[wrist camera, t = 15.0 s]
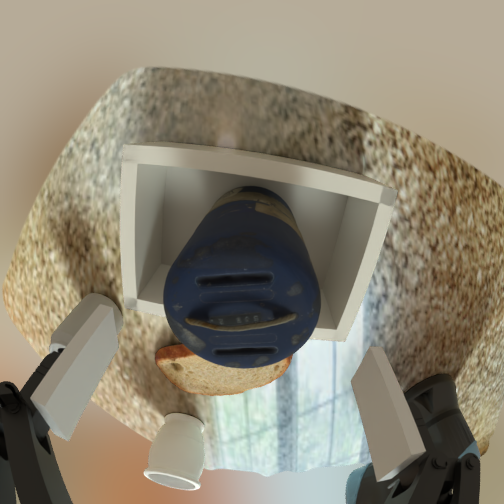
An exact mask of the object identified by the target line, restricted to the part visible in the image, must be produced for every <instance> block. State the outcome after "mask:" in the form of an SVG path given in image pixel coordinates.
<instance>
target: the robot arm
mask: <svg viewBox="0 0 504 504" xmlns="http://www.w3.org/2000/svg"><path fill="white" fill-rule="evenodd" d="M118 348H119V344H118V339H117V333H116V326H115V320H114V313H113V307H109V306H105V305H102V304H100V305H99V306H98V307H97V309H96V310H95V311H94V312H93V313H92V315H91V316H90V317H89V318H88V320H87V321H86V322H85V323H84V325H83V326H82V327H81V328H80V330H79V331H78V332H77V333H76V335H75V336H74V337H73V339H72V340H71V341H70V342H69V344H68V345H67V346H66V348H65V349H64V350H63V352H62V353H61V354H60V353H58V352H56V351H53V352H52V353H50V354H49V355H47V356H46V357H45V358H44V359H43V361H42V362H41V363H40V366H38V367H37V369H36V371H35V372H34V373H33V374H32V375H31V377H30V378H29V380H28V381H27V382H26V384H25V385H24V387H23V388H22V390H21V391H20V392H19V390H18V388H17V387H16V386H15V385H14V384H13V383H11V382H8V381H4V382H1V383H0V504H16V494H15V487H16V491H17V494H18V497H19V500H20V503H21V504H73V503H72V501H71V498H70V496H69V494H68V491H67V489H66V486H65V484H64V481H63V478H62V476H61V473H60V471H59V467H58V464H57V461H56V458H55V455H54V451H53V448H52V445H51V441H50V437H49V435H48V431H49V429H51V430H52V431H53V433H54V434H55V435H57V436H59V437H61V438H63V439H65V440H67V441H69V440H70V438H71V435H72V433H73V431H74V429H75V427H76V425H77V423H78V421H79V419H80V417H81V415H82V413H83V411H84V410H85V408H86V406H87V404H88V402H89V400H90V398H91V396H92V394H93V393H94V391H95V389H96V387H97V385H98V383H99V382H100V380H101V378H102V376H103V374H104V373H105V371H106V369H107V367H108V365H109V364H110V362H111V360H112V358H113V357H114V355H115V353H116V352H117V350H118ZM351 384H352V387H353V391H354V394H355V398H356V401H357V405H358V408H359V412H360V416H361V419H362V423H363V427H364V431H365V434H366V438H367V442H368V446H369V450H370V454H371V458H372V463H369V464H367V465H366V466H363V467H361V468H358V469H356V470H354V471H353V472H352V473H351V474H350V476H349V478H348V480H347V484H346V504H479V492H480V460H479V459H480V452H479V450H478V447H477V444H476V443H477V441H476V440H475V439H474V437H473V435H472V433H471V431H470V429H469V427H468V425H467V423H466V421H465V419H464V417H463V415H462V413H461V411H460V409H459V406H458V399H457V394H456V385H455V382H454V381H453V379H452V377H451V376H450V375H448V374H439V375H435V376H433V377H430V378H428V379H426V380H424V381H422V382H420V383H418V384H417V385H415V386H414V387H412V388H411V389H410V390H408V391H407V392H406V393H405V394H403V392H402V390H401V387H400V385H399V383H398V380H397V378H396V376H395V374H394V372H393V369H392V367H391V365H390V363H389V361H388V359H387V356H386V354H385V352H384V350H383V348H382V347H372V346H370V347H369V349H368V351H367V353H366V355H365V357H364V359H363V360H362V362H361V364H360V366H359V368H358V370H357V371H356V373H355V375H354V377H353V378H352V380H351ZM452 489H453V494H452Z"/></svg>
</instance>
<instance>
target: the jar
mask: <svg viewBox="0 0 504 504" xmlns="http://www.w3.org/2000/svg"><path fill="white" fill-rule="evenodd" d="M203 430H204V424H203V423H202V422H201V421H200V420H198V419H197V418H195V417H193V416H190V415H187V414H182V413H171V414H168V415H166V416H165V424H164V425H163V426H162V427H161V428H160V430H159V431H158V433H157V436H156V437H155V439H154V441H153V443H152V445H151V448H150V452H149V458H148V466H149V467H148V468H146V469H145V470H144V475H145V476H146V477H147V478H148V479H150V480H152V481H154V482H156V483H159V484H161V485H164V486H168V487H171V488H176V489H182V490H197V489H199V488H200V486H201V484H200V482H199V481H198V479H199V478H200V476H201V473H202V470H203V467H204V460H205V452H204V438H203V435H202V432H203Z"/></svg>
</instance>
